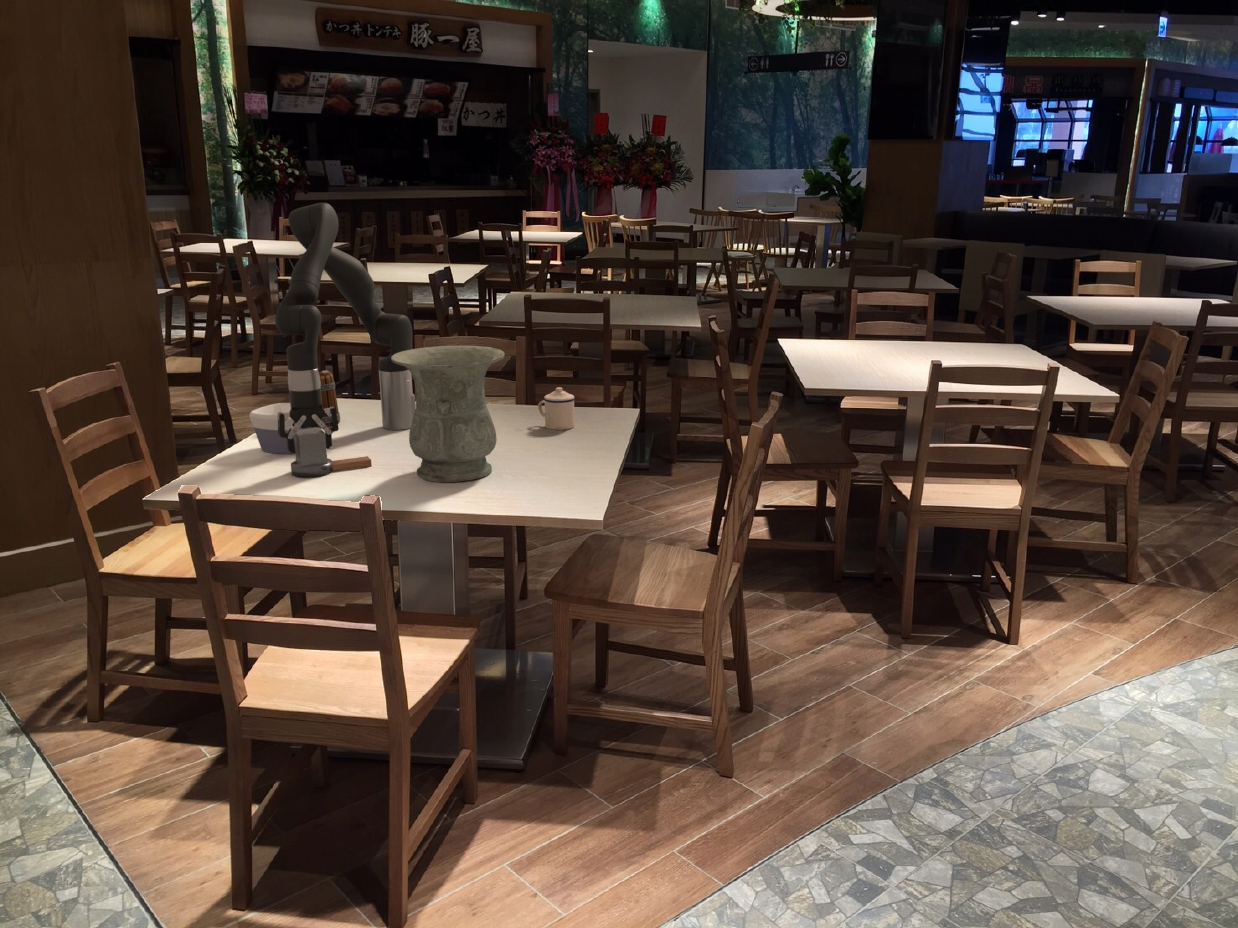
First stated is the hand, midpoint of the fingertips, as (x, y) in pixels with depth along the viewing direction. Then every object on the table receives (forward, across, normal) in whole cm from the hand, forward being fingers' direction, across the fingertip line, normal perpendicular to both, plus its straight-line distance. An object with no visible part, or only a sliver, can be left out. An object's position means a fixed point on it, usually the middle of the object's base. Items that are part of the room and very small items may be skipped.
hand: (310, 450), depth 256 cm
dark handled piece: (+6, -5, 0) cm, 7 cm away
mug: (+6, -15, -54) cm, 57 cm away
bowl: (+6, +1, -27) cm, 28 cm away
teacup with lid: (+6, -74, -15) cm, 76 cm away
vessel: (+6, -31, +18) cm, 36 cm away
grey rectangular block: (+3, 0, 0) cm, 3 cm away
